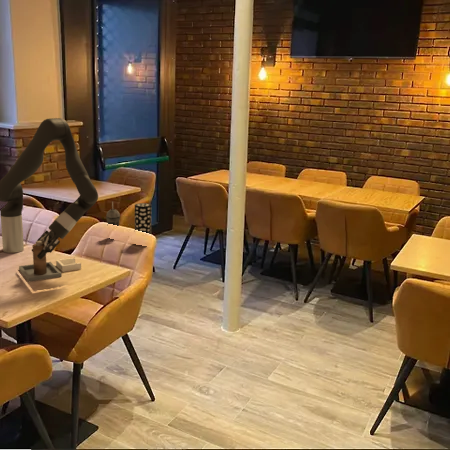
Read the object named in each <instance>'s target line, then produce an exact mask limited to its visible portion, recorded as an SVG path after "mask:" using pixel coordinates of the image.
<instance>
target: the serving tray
mask: <svg viewBox="0 0 450 450" xmlns="http://www.w3.org/2000/svg"><path fill="white" fill-rule="evenodd" d="M46 267H47V273H46V274H43V275H35V274H34V265H33V264H32V263H31V264H26V265H25V264H24V265H20V266H18V270H19V272H20V274H22V276H23V279H24V280H26V281H27V282H28V283H29V282H36V281H41V280H48V279H54V278H61V277H62V276H63V274H62V271H61V270H60V269H59V268H58V267H57V266H55V265H54V264H53V263H52V262H51V261H46Z"/></svg>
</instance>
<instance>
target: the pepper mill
mask: <svg viewBox="0 0 450 450" xmlns="http://www.w3.org/2000/svg"><path fill="white" fill-rule="evenodd" d="M44 246H45V245H44V244H42V241H37V240H36V241H35V243H33V244H32V249H33V252H32V263H33V265H34V274H35V275H43V274H46V273H47V267H46V262H47V254H46V255H45V256H44V257H43V258H42V259H39V258H38V257H37V255H38V254H39V253H40V251H41V250H42V249H43V248H44Z"/></svg>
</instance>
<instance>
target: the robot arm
mask: <svg viewBox="0 0 450 450" xmlns="http://www.w3.org/2000/svg"><path fill="white" fill-rule="evenodd" d="M53 141H59V142H60V143H61V145H62V147H63V150H64V154H65V159H64V161H65V167H66V171H67V173H68V176H69V177H70V179H71V180H72V183H73V184H74V185H75V187H76V189H77V192H78V194H79V196H78V197H77V199H75V201H74V202H71V203H70V204H69V205H68V206H67V207H66V208H65V209H64V211H62V212H60V214H58V216H57V217H56V218H55V220H54V221H52V222H51V224H50V225H49V226H48V229H49V230H50V231H49V230H45V231H44V233H42V234H41V235H40V236H39V238H38V239H37V240H36V241H42V244H44V245H45V246H44V248H43V249H42V250H41V251H40V253H39V254H38V255H37V257H38V258H39V259H42V258H43V257H44V256H45V255H46V256H47V254H51V253H52V252H53V251H54V250H55V249H56V247H58V245H59V244H60V243H61V241H60V240H59V239H61V240H63V239H65V238H66V237H67V235H68V234H69V233H70V232H71V230H73V228H74V227H75V225H76V224H77V223H78V222H80V221H79V220H81V219H82V217H83V216H84V214H85V213H86V212H88V211H89V210H90V209H91V208H92V207H93V206H94V205H95V204H96V203H97V202H98V200H99V193H98V190H97V188H96V187H95V185H94V183H93V182H92V180H91V178H90V175H89V173H88V171H87V170H86V167H85V166H84V164H83V161H82V160H81V158H80V154H79V151H78V148H77V146H76V142H75V139H74V136H73V133H72V130H71V128H70V125H69V123H68V122H67V121H66V120H65V119H64V118H61V117H58V118H57V117H55V118H54V117H53V118H46V119H44V120H43V121H41V123H40V124H39V126H38V128H37V129H36V131H35V133H34V135H33V137H32V138H31V140H30V142H29V143H28V144H27V146H26V147H25V149H24V150H23V151H22V153H21V154H20V155H19V157H18V158H17V159H16V161H15V163H13V165H12V166H11V168H9V170H8V172H7V173H6V174H5V175H4V176H3V177H2V178H1V179H0V202H3V203H6V204H5V205H4V206H3V207H2V208H1V209H0V226H1V242H2V243H1V244H2V251H3V252H4V253H8V254H13V253H20V252H23V251H24V250H25V248H24V247H25V245H24V230H23V229H24V227H23V213H22V212H23V210H24V209H23V208H24V190H23V185H22V184H21V183H22V182H24V181H25V180H27V179H29V178H30V177H32V176H33V175H34V174H35V173H36V172H37V171H38V170H39V168H41V166H42V165H43V163H44V156H45V154H44V151H45V150H46V148H47V147H48V146H49V145H50V144H51V143H52V142H53ZM31 252H32V253H33V248H31Z"/></svg>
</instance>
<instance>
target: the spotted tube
mask: <svg viewBox="0 0 450 450" xmlns="http://www.w3.org/2000/svg"><path fill="white" fill-rule="evenodd" d="M135 230H138V231H142V232H146V233H149V234H151V235H152V204H151V203H144V202H142V203H140V202H139V203H135V204H134V231H135Z"/></svg>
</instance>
